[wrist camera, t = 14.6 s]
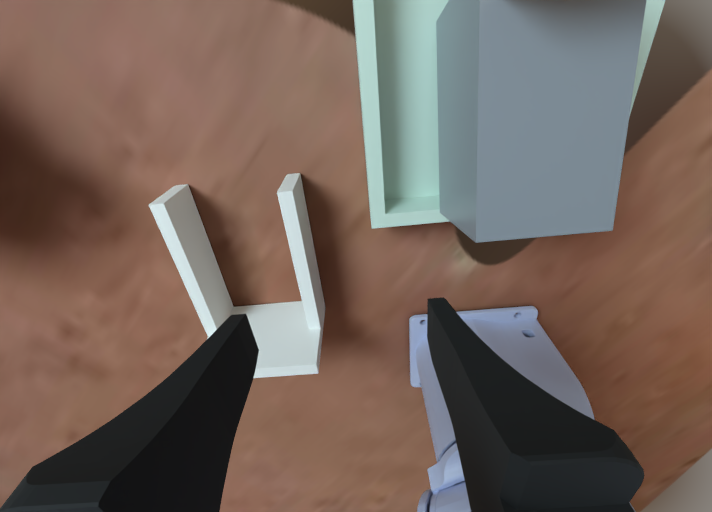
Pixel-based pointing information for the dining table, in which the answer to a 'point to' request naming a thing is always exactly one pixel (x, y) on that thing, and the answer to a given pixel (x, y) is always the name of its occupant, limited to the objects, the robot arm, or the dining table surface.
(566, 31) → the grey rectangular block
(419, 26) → the tray
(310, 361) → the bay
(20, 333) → the dining table surface
